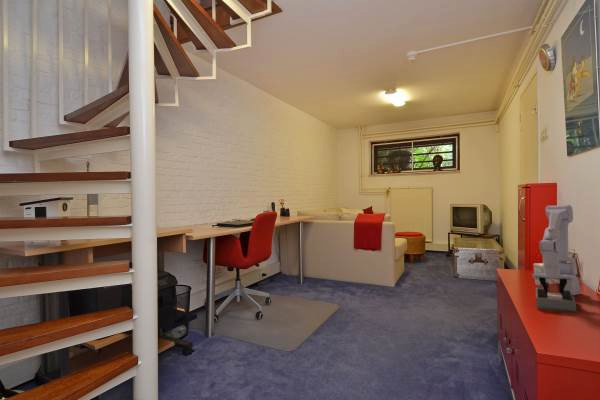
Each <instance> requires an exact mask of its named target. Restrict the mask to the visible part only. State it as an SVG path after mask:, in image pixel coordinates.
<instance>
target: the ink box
mask: <svg viewBox="0 0 600 400" xmlns="http://www.w3.org/2000/svg"><path fill="white" fill-rule="evenodd" d="M533 272H534V273H533V274H544V266H543V262H540V263H536V262H535V263H533ZM534 281H535V285H536V286H538V287H540V288H543V286H542V284H541V283H540V281H539V278H534ZM553 281H554V279H546V282H553ZM546 288H547V287H546Z"/></svg>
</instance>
